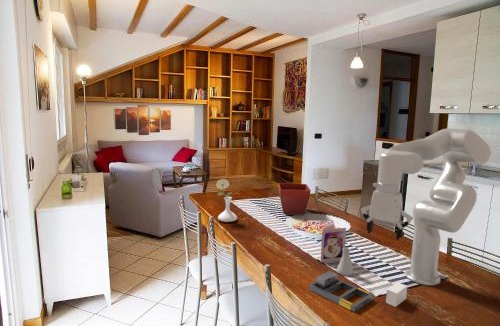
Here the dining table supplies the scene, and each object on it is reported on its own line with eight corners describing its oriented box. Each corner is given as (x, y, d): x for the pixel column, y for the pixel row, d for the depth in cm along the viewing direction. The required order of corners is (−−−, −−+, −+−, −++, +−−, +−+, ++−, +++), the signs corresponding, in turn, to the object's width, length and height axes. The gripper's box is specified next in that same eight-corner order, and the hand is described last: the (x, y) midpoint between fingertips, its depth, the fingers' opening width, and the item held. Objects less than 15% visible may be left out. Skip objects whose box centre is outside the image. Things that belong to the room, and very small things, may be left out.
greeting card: (321, 263, 151) (323, 230, 149) (313, 256, 158) (315, 224, 156) (344, 260, 154) (347, 228, 152) (336, 254, 162) (338, 223, 159)
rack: (328, 279, 137) (328, 267, 136) (372, 299, 123) (374, 286, 122) (308, 289, 129) (309, 276, 128) (354, 312, 115) (355, 298, 114)
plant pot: (309, 216, 219) (311, 190, 216) (279, 215, 219) (280, 189, 216) (305, 208, 238) (306, 183, 235) (277, 207, 238) (278, 183, 235)
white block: (396, 295, 127) (397, 282, 126) (405, 299, 124) (407, 286, 123) (385, 302, 121) (386, 289, 121) (395, 307, 119) (396, 293, 118)
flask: (340, 266, 149) (342, 244, 147) (356, 271, 144) (358, 249, 143) (332, 272, 143) (334, 249, 142) (349, 278, 139) (351, 254, 137)
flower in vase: (238, 218, 211) (239, 177, 208) (235, 224, 200) (236, 181, 196) (217, 216, 213) (217, 176, 209) (213, 222, 201) (213, 180, 198)
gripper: (360, 186, 123) (356, 232, 125) (413, 194, 113) (407, 244, 115) (366, 183, 129) (362, 227, 131) (417, 190, 119) (412, 238, 121)
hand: (383, 235), depth 123 cm, fingers open, 9 cm apart
